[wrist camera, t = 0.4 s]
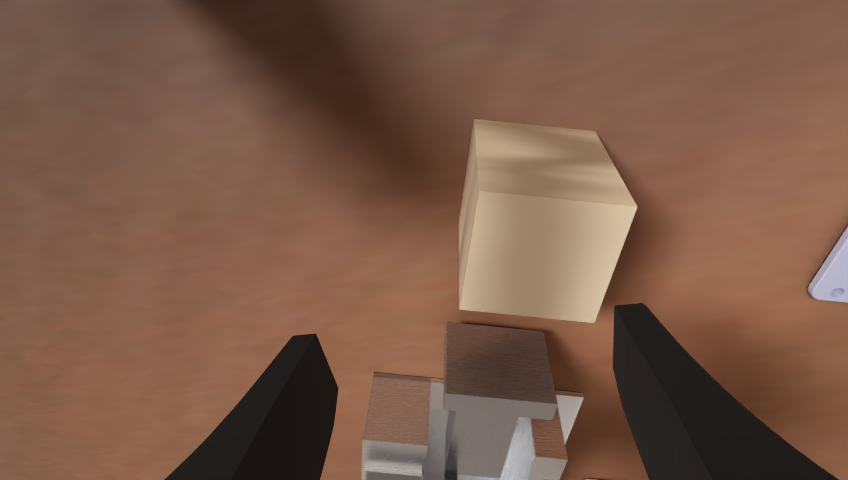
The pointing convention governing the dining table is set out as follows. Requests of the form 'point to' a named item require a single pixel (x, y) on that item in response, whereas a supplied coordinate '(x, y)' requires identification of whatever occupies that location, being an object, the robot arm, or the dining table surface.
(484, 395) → the grey l-shaped piece
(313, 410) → the robot arm
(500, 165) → the block
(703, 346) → the dining table surface
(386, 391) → the gauge housing
